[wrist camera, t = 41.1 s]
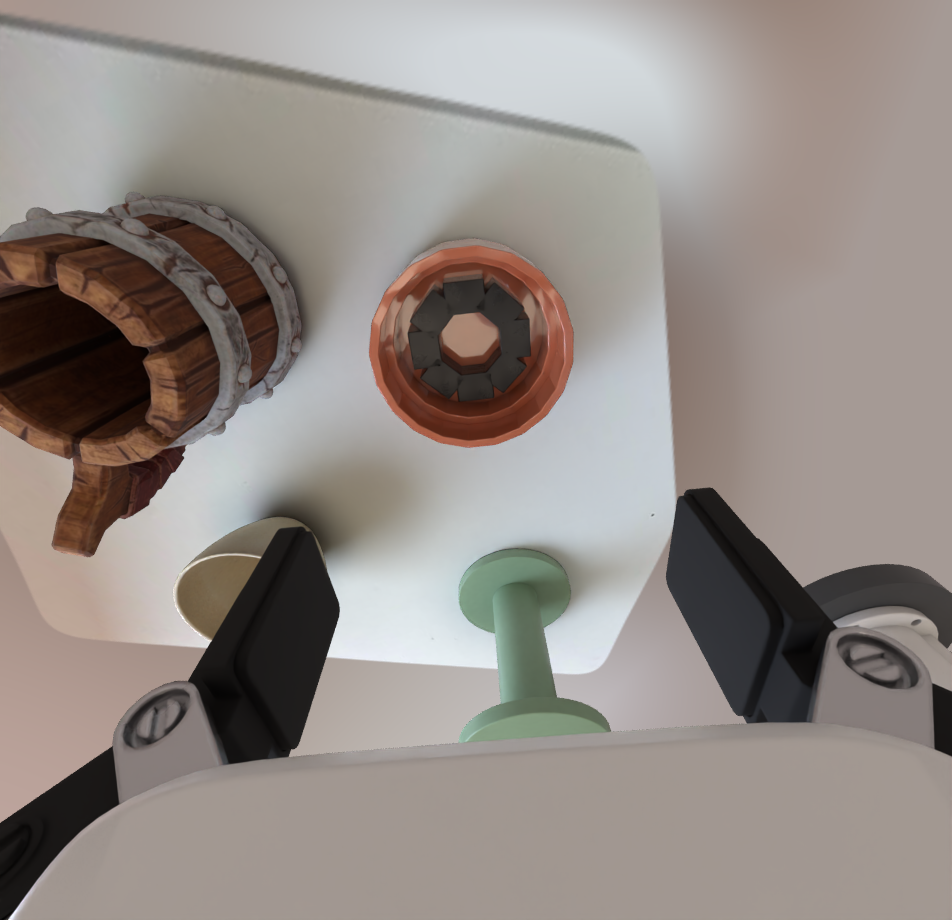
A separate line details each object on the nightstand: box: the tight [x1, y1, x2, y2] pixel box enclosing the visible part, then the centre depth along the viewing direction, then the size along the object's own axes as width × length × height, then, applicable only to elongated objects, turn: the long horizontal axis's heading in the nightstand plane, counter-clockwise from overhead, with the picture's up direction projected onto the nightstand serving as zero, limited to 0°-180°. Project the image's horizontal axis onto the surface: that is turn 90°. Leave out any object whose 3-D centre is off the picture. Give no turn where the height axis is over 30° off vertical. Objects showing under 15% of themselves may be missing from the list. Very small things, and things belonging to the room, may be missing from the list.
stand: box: [459, 549, 611, 743], centre depth 34 cm, size 10×10×14 cm
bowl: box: [369, 238, 573, 448], centre depth 26 cm, size 11×11×5 cm
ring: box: [407, 274, 531, 402], centre depth 27 cm, size 7×7×2 cm
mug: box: [0, 192, 302, 557], centre depth 22 cm, size 12×14×15 cm
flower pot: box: [173, 517, 327, 642], centre depth 33 cm, size 10×10×7 cm
